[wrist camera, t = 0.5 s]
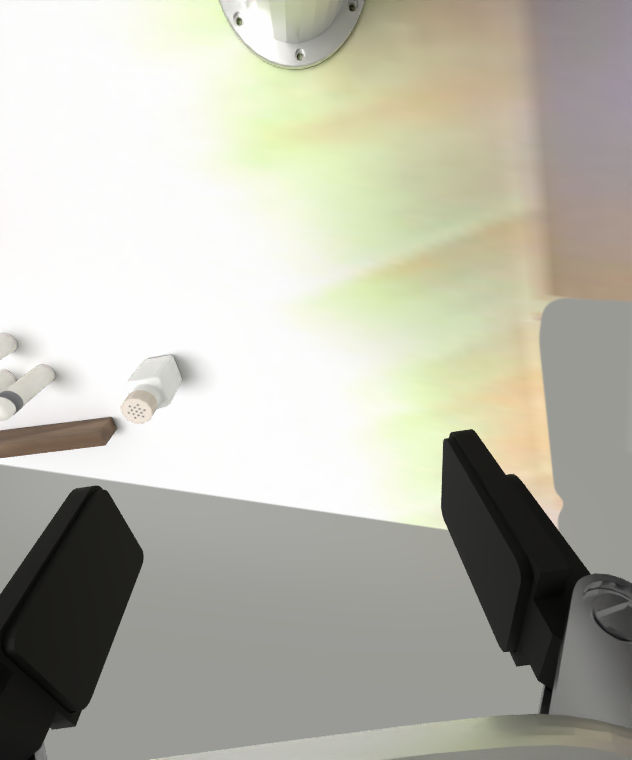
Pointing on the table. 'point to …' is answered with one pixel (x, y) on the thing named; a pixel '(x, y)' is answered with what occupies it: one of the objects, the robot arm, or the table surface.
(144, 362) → the salt shaker
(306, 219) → the table surface
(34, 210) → the table surface
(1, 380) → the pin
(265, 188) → the table surface
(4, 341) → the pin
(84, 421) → the rail
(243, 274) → the table surface
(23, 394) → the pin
